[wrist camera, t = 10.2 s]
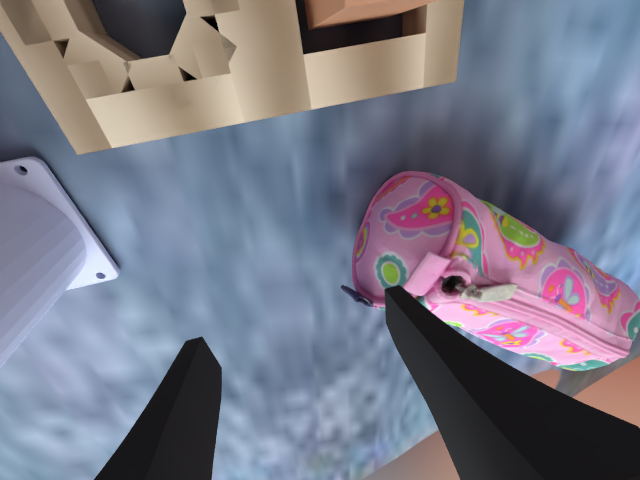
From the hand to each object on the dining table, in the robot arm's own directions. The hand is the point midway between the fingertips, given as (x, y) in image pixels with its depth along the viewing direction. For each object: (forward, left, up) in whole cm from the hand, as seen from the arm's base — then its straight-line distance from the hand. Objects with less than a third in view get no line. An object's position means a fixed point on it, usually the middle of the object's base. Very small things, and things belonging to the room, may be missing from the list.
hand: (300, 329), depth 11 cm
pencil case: (+14, -6, -10) cm, 18 cm away
